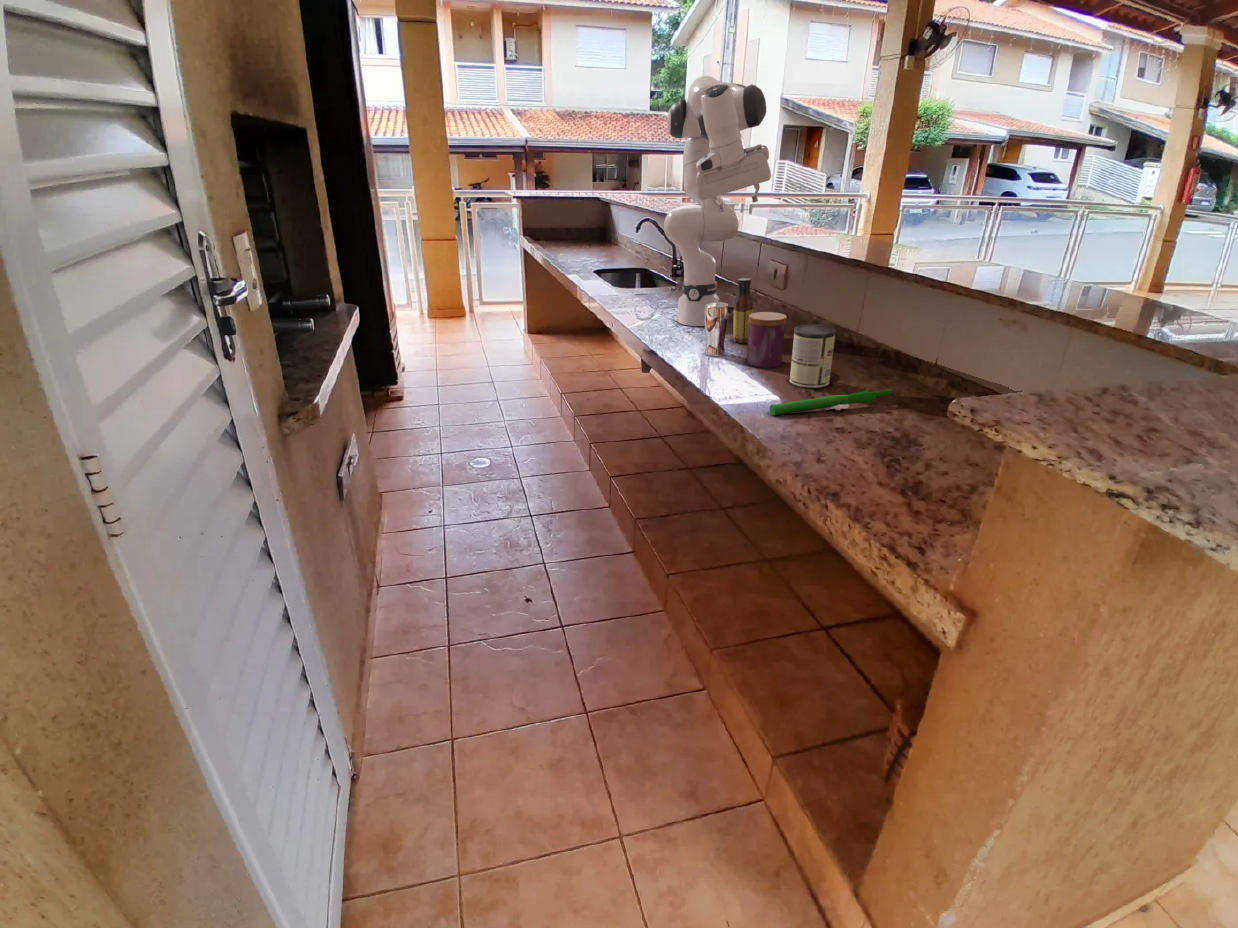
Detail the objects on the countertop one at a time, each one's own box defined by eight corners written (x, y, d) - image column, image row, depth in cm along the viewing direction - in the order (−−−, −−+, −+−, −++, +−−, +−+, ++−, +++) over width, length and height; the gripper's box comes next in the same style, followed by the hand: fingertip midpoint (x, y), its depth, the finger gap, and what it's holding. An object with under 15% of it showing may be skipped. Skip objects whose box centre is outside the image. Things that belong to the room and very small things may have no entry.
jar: (750, 356, 185) (753, 311, 179) (785, 359, 181) (790, 313, 175) (741, 365, 177) (744, 318, 171) (777, 369, 173) (782, 321, 167)
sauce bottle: (751, 339, 203) (755, 277, 194) (753, 344, 197) (757, 280, 189) (731, 339, 204) (734, 277, 195) (732, 344, 198) (736, 280, 189)
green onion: (775, 421, 141) (895, 403, 145) (775, 408, 139) (897, 390, 143) (766, 414, 145) (883, 396, 149) (767, 401, 143) (885, 383, 147)
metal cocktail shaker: (701, 351, 191) (703, 302, 185) (723, 350, 192) (725, 301, 185) (706, 357, 185) (708, 307, 178) (728, 356, 185) (731, 306, 179)
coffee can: (790, 374, 168) (795, 323, 162) (830, 377, 165) (836, 325, 159) (787, 386, 160) (792, 332, 153) (828, 389, 157) (835, 335, 150)
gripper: (766, 140, 165) (775, 192, 172) (691, 164, 170) (703, 214, 178) (767, 144, 160) (776, 198, 167) (691, 168, 165) (703, 219, 173)
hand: (738, 206), depth 172 cm, fingers open, 8 cm apart
